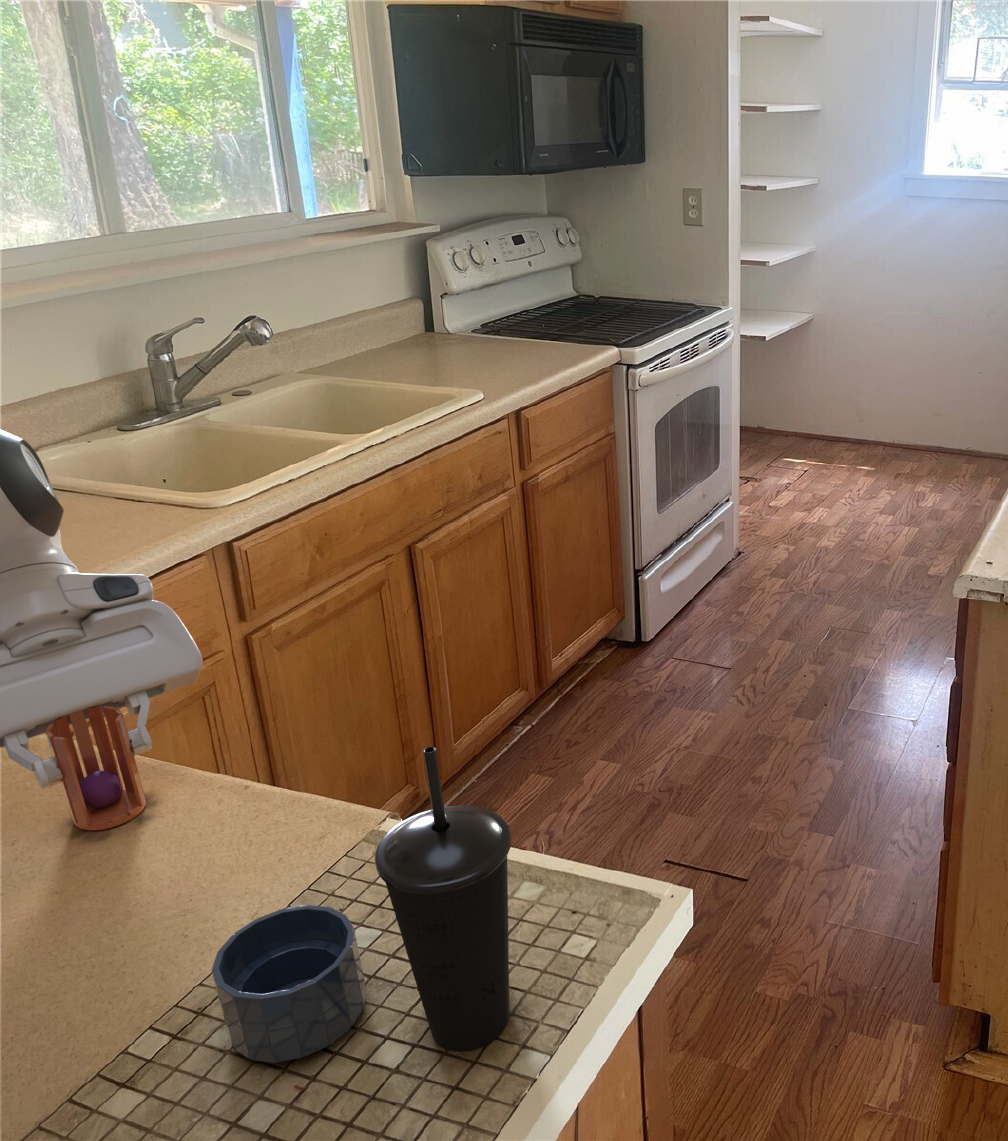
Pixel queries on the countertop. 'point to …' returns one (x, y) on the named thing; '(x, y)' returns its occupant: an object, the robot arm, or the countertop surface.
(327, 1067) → the countertop surface
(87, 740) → the slatted pencil cup
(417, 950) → the drinking cup
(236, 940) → the bowl
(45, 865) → the countertop surface
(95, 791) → the ball
